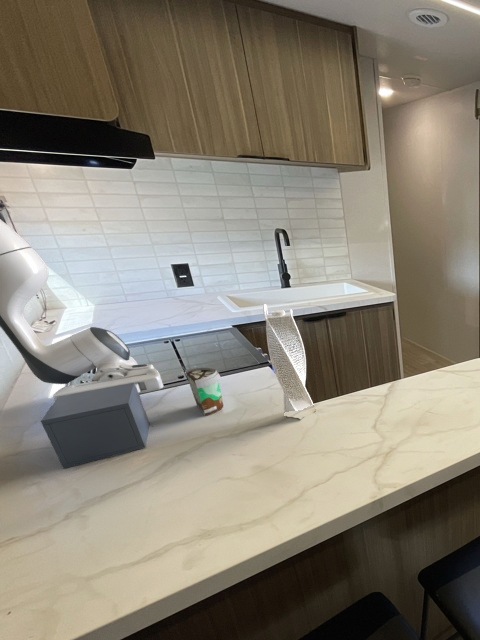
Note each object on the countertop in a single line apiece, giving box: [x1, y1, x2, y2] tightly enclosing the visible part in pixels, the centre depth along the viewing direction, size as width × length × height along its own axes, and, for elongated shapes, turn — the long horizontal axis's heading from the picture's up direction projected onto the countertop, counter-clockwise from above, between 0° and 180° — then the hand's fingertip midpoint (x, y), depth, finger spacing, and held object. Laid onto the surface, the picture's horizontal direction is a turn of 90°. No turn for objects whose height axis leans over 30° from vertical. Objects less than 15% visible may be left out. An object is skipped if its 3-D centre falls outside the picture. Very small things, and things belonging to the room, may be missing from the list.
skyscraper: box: [262, 303, 315, 414], centre depth 97 cm, size 8×8×28 cm
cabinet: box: [40, 383, 150, 469], centre depth 88 cm, size 15×13×11 cm
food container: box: [184, 367, 224, 417], centre depth 105 cm, size 12×6×10 cm, turn 46°
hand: (108, 398), depth 97 cm, fingers closed on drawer, 6 cm apart
